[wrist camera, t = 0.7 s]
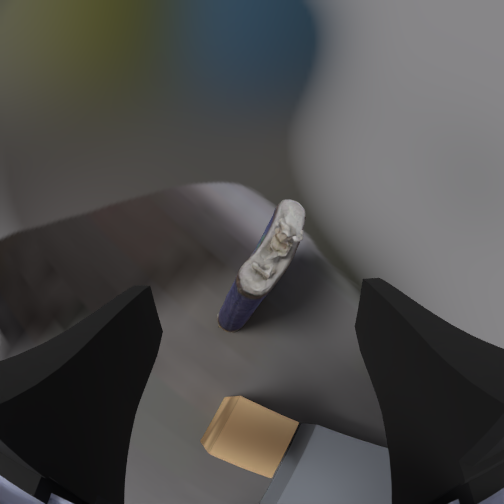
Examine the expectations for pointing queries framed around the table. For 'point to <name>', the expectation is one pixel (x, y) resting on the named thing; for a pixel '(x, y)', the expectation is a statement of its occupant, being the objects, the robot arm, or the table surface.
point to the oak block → (249, 435)
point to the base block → (331, 470)
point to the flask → (264, 265)
